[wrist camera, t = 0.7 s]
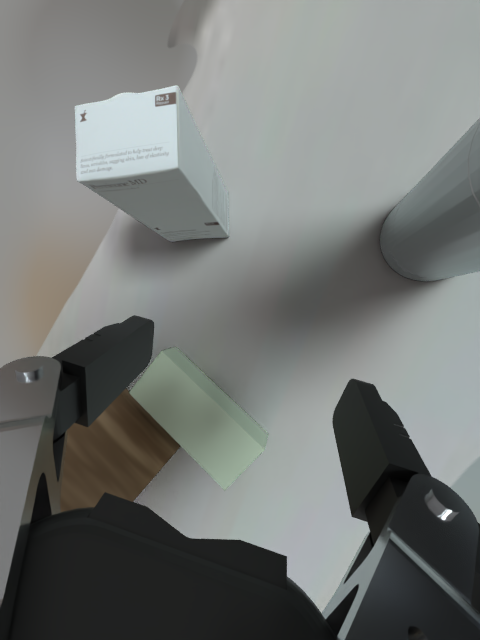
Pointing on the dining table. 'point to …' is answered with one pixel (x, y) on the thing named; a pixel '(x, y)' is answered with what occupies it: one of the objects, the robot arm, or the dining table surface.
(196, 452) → the green block
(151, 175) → the skincare box
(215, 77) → the dining table surface
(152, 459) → the shelf tower
